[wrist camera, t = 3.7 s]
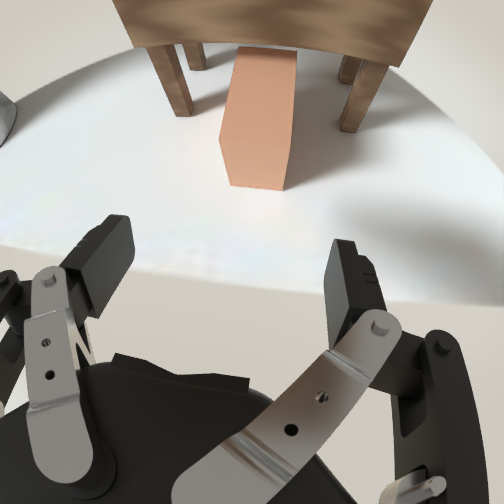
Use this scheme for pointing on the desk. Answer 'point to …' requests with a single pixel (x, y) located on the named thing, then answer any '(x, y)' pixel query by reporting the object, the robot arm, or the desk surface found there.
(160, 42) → the walnut cabinet
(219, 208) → the desk surface
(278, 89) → the terracotta block
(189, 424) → the robot arm
